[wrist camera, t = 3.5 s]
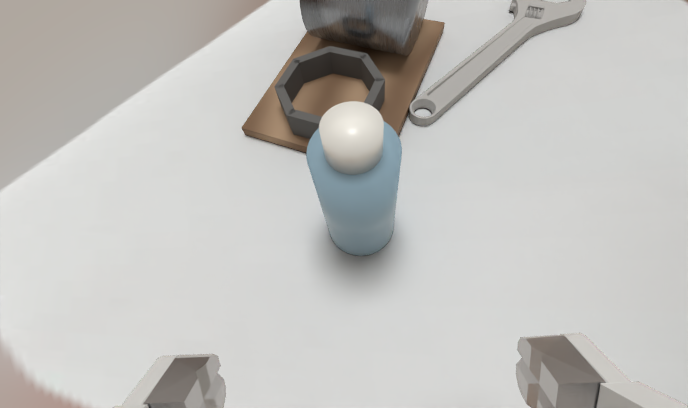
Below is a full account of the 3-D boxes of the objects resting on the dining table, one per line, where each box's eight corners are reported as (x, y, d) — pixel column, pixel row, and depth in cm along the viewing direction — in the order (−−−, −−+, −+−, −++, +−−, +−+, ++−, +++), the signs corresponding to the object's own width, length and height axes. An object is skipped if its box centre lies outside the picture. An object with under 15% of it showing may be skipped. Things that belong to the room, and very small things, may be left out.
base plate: (443, 31, 37) (444, 22, 36) (381, 175, 29) (382, 169, 28) (328, 10, 41) (327, 2, 40) (245, 134, 33) (241, 127, 32)
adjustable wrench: (423, 135, 31) (425, 122, 30) (377, 98, 34) (377, 85, 33) (588, 13, 37) (597, -3, 36) (538, -10, 40) (544, -26, 38)
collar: (393, 80, 33) (394, 59, 31) (359, 153, 29) (357, 134, 27) (309, 62, 35) (305, 40, 33) (268, 127, 32) (259, 107, 29)
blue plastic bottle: (402, 208, 28) (418, 100, 17) (380, 265, 25) (383, 183, 15) (343, 189, 29) (324, 78, 18) (318, 242, 27) (280, 151, 16)
